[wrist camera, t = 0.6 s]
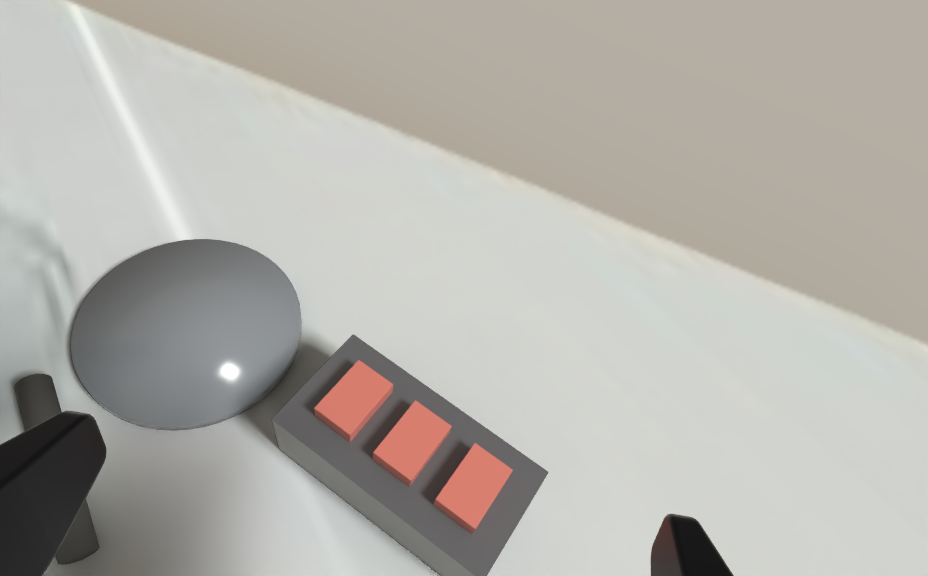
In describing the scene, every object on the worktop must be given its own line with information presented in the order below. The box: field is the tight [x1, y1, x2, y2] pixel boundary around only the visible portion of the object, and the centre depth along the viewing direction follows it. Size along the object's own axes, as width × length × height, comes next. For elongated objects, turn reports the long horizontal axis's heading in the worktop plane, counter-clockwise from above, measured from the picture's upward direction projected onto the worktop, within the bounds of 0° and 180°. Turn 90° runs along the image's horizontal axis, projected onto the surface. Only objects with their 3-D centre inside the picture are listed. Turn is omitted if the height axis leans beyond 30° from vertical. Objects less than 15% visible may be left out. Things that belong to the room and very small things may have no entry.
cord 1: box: [15, 374, 99, 565], centre depth 22 cm, size 7×1×1 cm, turn 31°
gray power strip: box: [272, 335, 548, 576], centre depth 23 cm, size 9×4×4 cm, turn 56°
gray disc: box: [71, 239, 302, 430], centre depth 26 cm, size 9×9×1 cm
